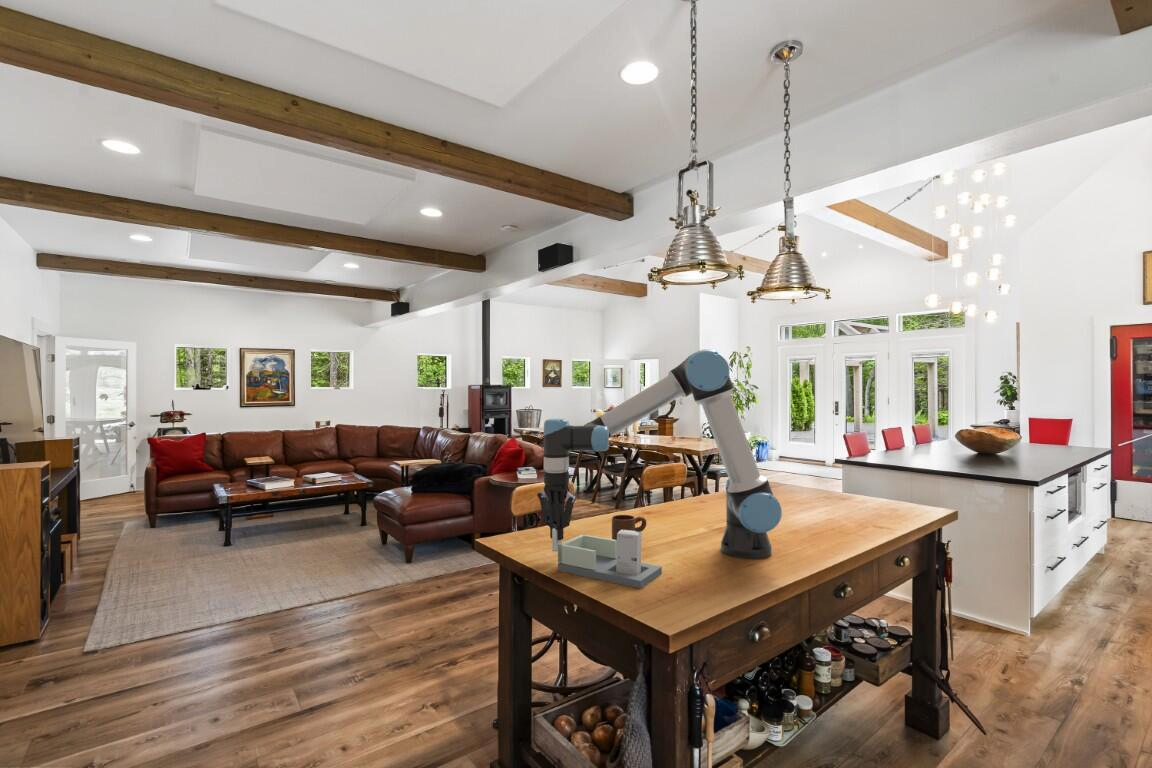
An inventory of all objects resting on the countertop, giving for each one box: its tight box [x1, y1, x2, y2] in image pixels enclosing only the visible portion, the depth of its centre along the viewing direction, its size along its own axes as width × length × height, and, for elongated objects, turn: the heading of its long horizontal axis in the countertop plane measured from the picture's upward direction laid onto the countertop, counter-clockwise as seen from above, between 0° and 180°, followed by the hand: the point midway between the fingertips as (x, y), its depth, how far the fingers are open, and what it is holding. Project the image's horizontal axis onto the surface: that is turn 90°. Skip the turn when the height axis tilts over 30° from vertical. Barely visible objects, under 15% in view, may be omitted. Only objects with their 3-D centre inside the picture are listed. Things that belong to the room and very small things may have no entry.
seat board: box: [557, 555, 663, 590], centre depth 152 cm, size 26×13×2 cm, turn 57°
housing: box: [557, 533, 617, 570], centre depth 156 cm, size 12×13×5 cm
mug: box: [611, 514, 647, 540], centre depth 178 cm, size 12×8×9 cm, turn 109°
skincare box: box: [616, 530, 643, 576], centre depth 149 cm, size 6×4×12 cm
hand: (556, 550), depth 162 cm, fingers closed
